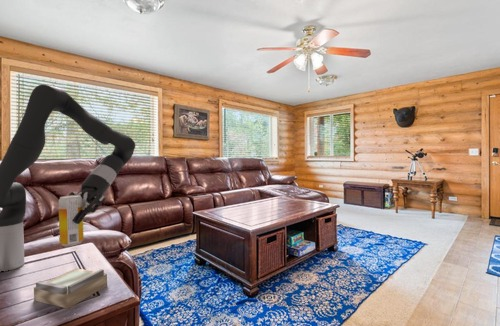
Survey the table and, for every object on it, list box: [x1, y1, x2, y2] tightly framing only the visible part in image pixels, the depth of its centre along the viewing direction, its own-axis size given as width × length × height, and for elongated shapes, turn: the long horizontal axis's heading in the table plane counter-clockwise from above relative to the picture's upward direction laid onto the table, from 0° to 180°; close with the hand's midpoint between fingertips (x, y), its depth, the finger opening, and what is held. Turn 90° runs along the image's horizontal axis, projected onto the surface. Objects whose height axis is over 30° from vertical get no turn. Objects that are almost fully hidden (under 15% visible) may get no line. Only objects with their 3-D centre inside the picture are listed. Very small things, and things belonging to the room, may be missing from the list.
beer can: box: [58, 195, 85, 247], centre depth 77 cm, size 6×6×15 cm
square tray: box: [33, 267, 108, 310], centre depth 77 cm, size 14×13×6 cm
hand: (67, 221), depth 76 cm, fingers closed on beer can, 6 cm apart
